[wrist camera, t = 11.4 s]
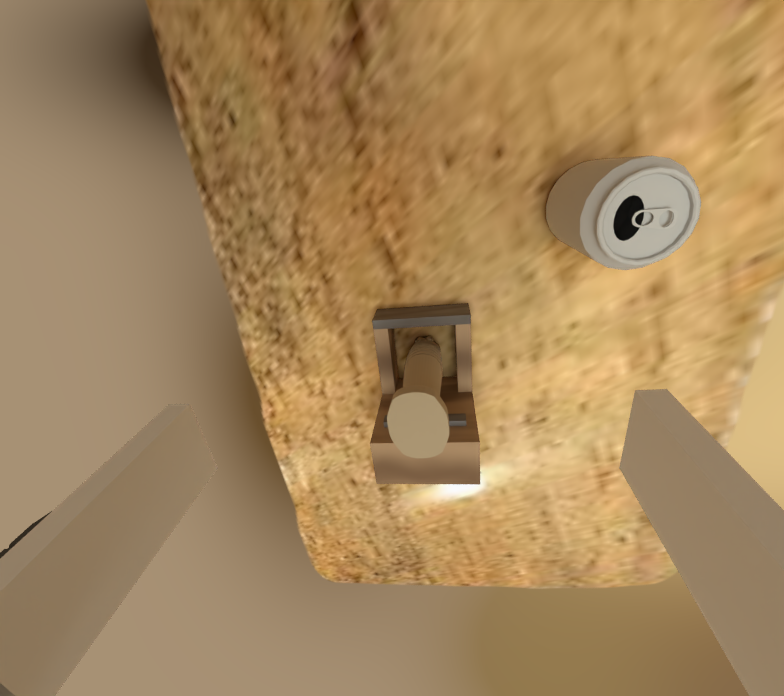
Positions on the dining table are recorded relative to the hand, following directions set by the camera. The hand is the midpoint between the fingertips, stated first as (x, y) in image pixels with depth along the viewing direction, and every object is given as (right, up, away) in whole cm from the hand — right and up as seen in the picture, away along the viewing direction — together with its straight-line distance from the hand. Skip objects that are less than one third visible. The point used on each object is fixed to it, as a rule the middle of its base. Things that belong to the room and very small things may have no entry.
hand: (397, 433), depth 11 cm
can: (+18, +16, +24) cm, 34 cm away
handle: (+4, +3, +32) cm, 32 cm away
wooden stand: (+4, 0, +33) cm, 33 cm away
